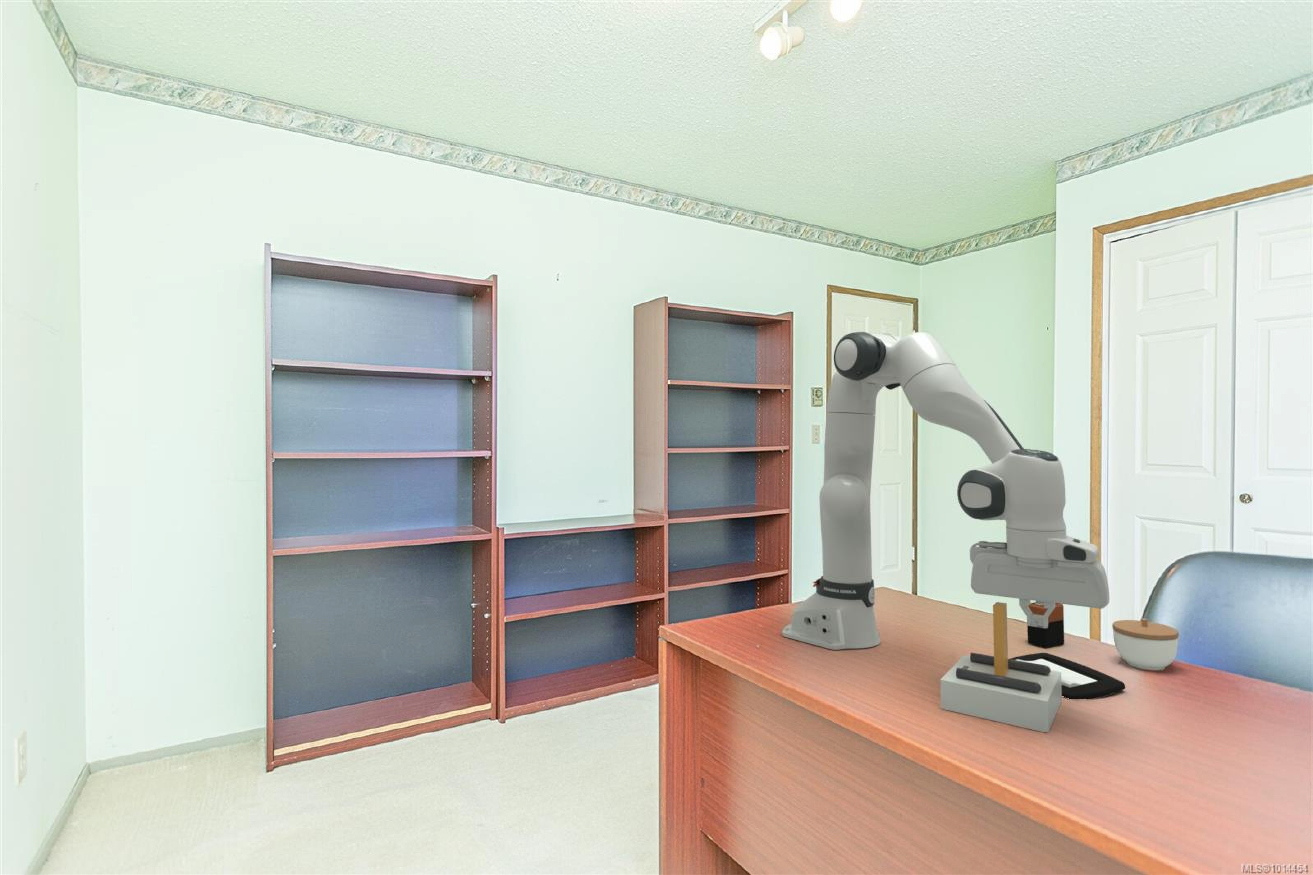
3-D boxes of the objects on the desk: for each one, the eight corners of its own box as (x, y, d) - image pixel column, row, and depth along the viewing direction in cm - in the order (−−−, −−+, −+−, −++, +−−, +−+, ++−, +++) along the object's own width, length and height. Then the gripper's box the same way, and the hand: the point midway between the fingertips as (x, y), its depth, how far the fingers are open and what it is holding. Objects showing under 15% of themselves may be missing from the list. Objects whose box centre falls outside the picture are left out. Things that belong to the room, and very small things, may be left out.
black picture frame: (987, 658, 133) (1044, 645, 136) (989, 672, 133) (1045, 659, 136) (1070, 694, 114) (1133, 678, 117) (1071, 710, 114) (1134, 694, 117)
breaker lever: (994, 674, 113) (992, 605, 113) (998, 669, 115) (996, 602, 115) (1004, 676, 112) (1003, 606, 112) (1008, 671, 114) (1006, 603, 114)
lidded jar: (1138, 654, 138) (1137, 610, 138) (1193, 670, 128) (1191, 623, 128) (1100, 660, 135) (1099, 615, 135) (1153, 677, 125) (1152, 628, 125)
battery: (1065, 644, 145) (1064, 600, 145) (1044, 649, 142) (1043, 603, 142) (1047, 639, 149) (1046, 596, 149) (1026, 643, 146) (1025, 599, 146)
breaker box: (941, 708, 112) (940, 670, 112) (964, 680, 125) (963, 646, 125) (1048, 733, 102) (1047, 691, 102) (1061, 700, 115) (1060, 663, 115)
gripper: (965, 542, 114) (966, 620, 114) (1106, 553, 101) (1108, 641, 101) (973, 537, 119) (975, 613, 119) (1109, 547, 106) (1111, 632, 106)
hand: (1037, 626), depth 110 cm, fingers closed
